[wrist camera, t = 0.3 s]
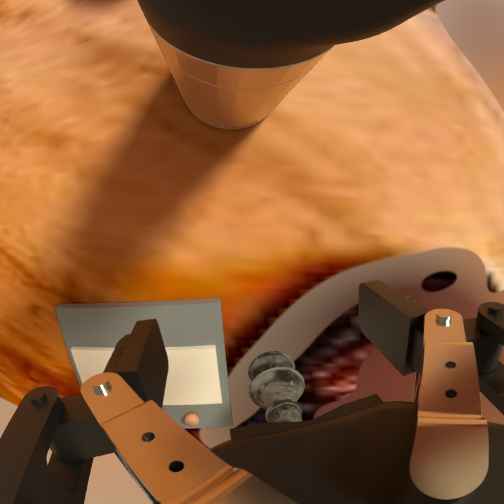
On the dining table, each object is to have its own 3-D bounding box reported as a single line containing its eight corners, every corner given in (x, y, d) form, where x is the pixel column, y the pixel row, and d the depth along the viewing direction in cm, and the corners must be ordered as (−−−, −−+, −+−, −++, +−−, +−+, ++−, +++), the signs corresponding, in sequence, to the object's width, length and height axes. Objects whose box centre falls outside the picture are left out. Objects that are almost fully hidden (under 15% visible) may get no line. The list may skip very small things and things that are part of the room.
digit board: (59, 303, 29) (50, 311, 27) (220, 297, 31) (220, 306, 29) (98, 418, 33) (94, 429, 31) (232, 419, 35) (233, 431, 33)
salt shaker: (254, 395, 34) (269, 473, 23) (238, 358, 33) (250, 439, 21) (301, 380, 34) (332, 454, 23) (290, 341, 33) (322, 416, 21)
